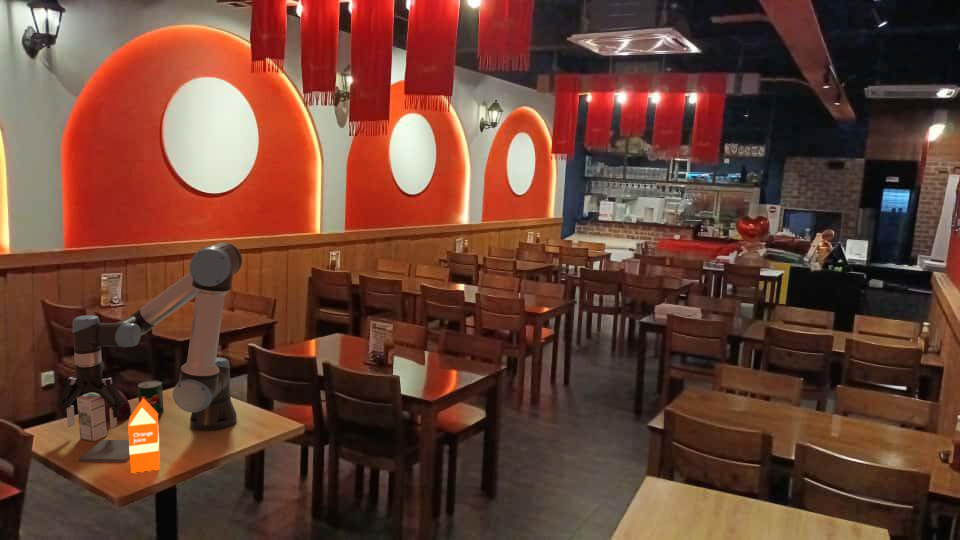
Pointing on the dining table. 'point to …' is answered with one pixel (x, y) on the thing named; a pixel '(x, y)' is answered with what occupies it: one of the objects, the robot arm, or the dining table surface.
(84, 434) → the syrup box
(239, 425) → the dining table surface
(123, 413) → the vegetable
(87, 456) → the mat
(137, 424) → the orange juice
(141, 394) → the canned tomato
